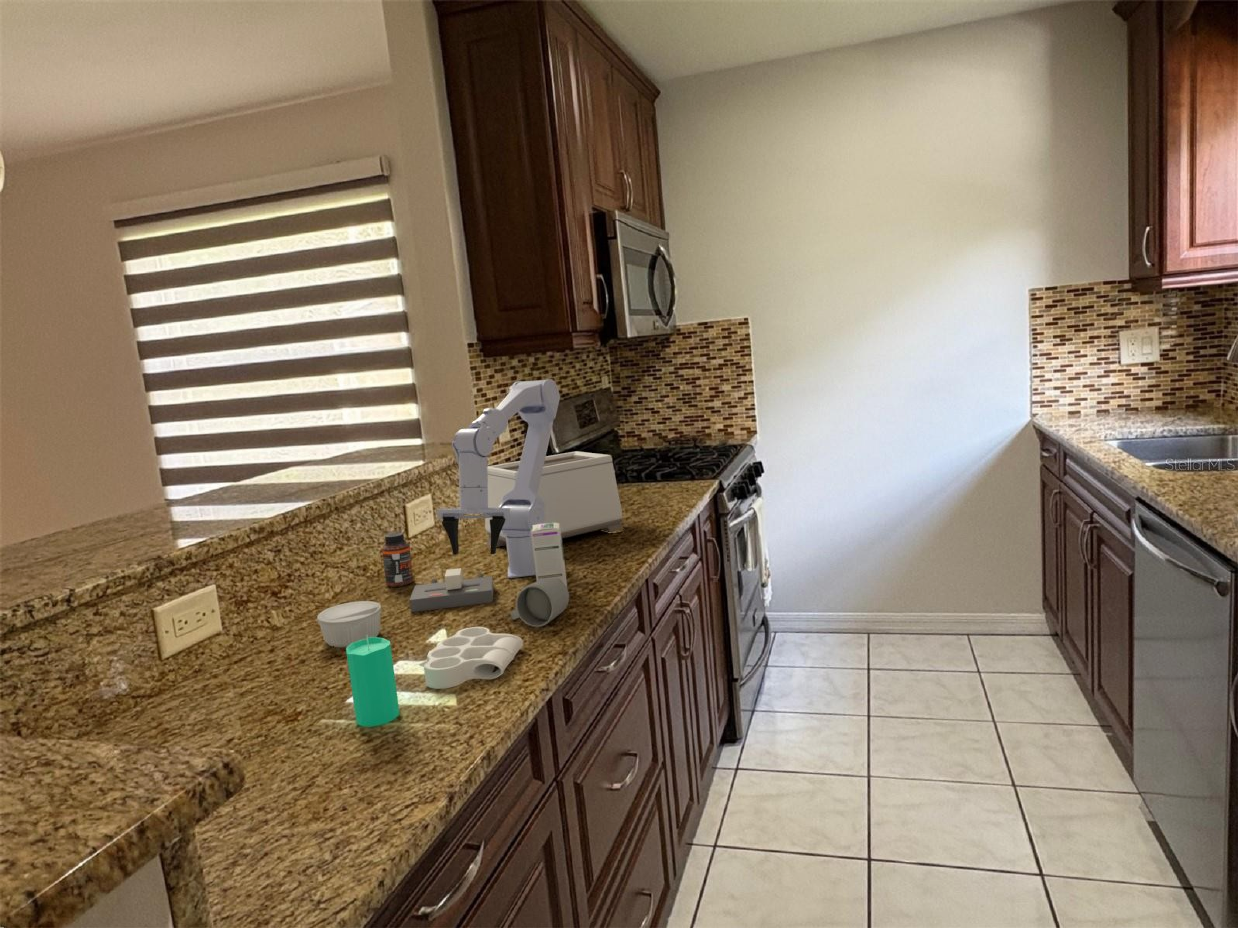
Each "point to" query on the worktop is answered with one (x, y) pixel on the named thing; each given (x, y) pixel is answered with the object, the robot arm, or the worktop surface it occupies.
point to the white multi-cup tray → (469, 657)
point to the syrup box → (548, 551)
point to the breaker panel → (452, 594)
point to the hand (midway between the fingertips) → (474, 553)
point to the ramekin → (350, 622)
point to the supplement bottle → (397, 560)
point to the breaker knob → (453, 579)
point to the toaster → (566, 492)
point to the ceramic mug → (541, 602)
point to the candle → (372, 681)
